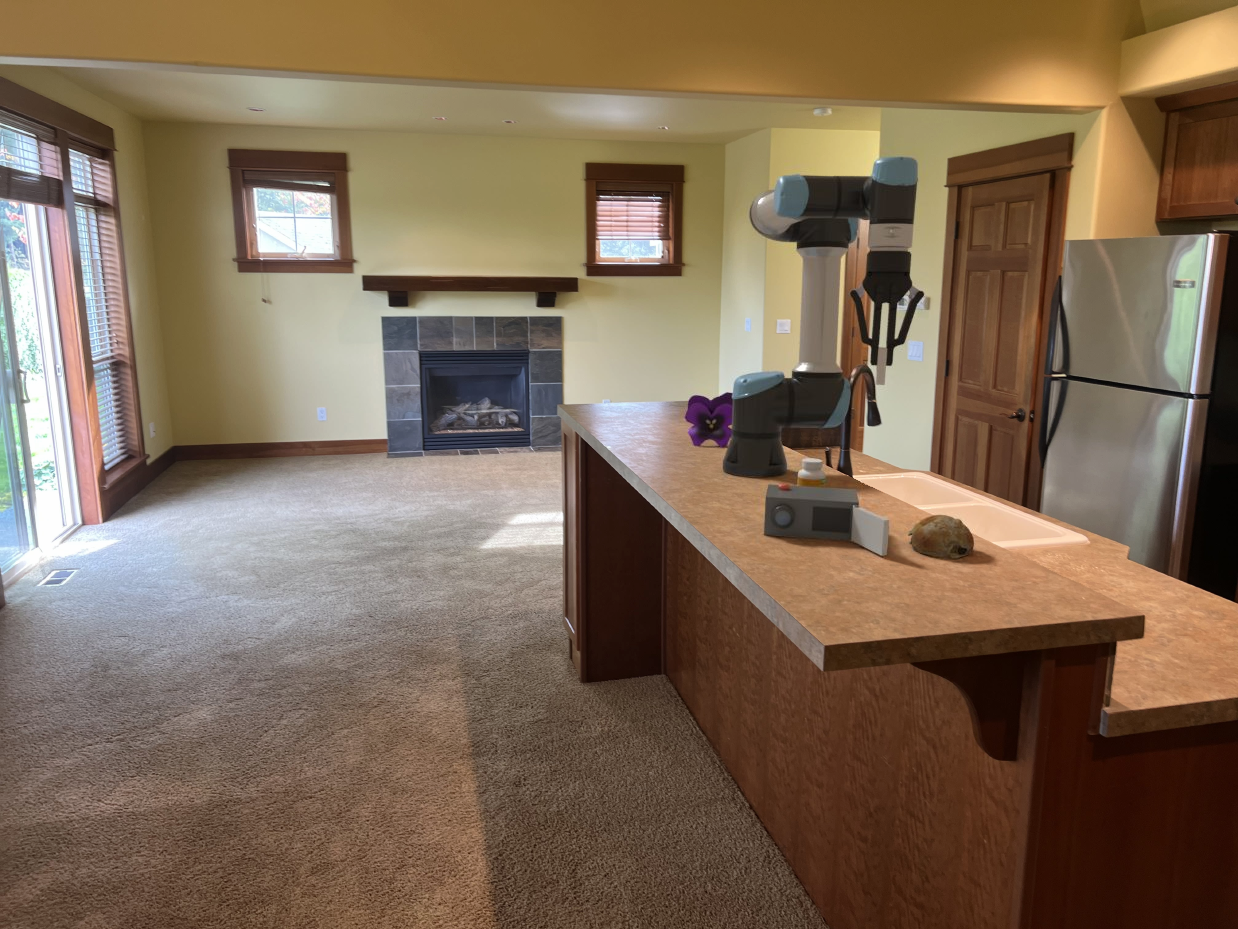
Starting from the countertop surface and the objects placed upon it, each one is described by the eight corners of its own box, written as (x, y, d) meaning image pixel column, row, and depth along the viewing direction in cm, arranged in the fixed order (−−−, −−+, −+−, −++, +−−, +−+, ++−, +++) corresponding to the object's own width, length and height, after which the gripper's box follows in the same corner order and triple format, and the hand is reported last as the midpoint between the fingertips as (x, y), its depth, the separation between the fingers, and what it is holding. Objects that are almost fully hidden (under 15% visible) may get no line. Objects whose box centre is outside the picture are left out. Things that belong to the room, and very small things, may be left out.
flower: (685, 457, 253) (682, 442, 240) (689, 407, 257) (685, 390, 244) (737, 459, 251) (736, 445, 238) (740, 409, 255) (739, 392, 242)
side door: (881, 556, 146) (884, 519, 145) (849, 540, 155) (851, 505, 154) (889, 555, 147) (892, 518, 146) (857, 539, 156) (859, 504, 154)
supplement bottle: (823, 511, 175) (826, 463, 173) (796, 510, 176) (798, 462, 174) (823, 505, 180) (826, 458, 178) (796, 503, 182) (798, 456, 180)
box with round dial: (766, 520, 169) (768, 480, 167) (853, 526, 165) (856, 485, 164) (763, 537, 157) (765, 494, 156) (856, 543, 154) (859, 500, 153)
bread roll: (930, 580, 147) (950, 544, 143) (891, 540, 154) (909, 504, 150) (972, 572, 152) (993, 536, 147) (932, 533, 159) (951, 498, 154)
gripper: (852, 249, 154) (843, 385, 159) (931, 249, 151) (919, 387, 156) (850, 250, 161) (842, 380, 166) (925, 250, 159) (915, 382, 163)
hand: (879, 383), depth 161 cm, fingers closed
